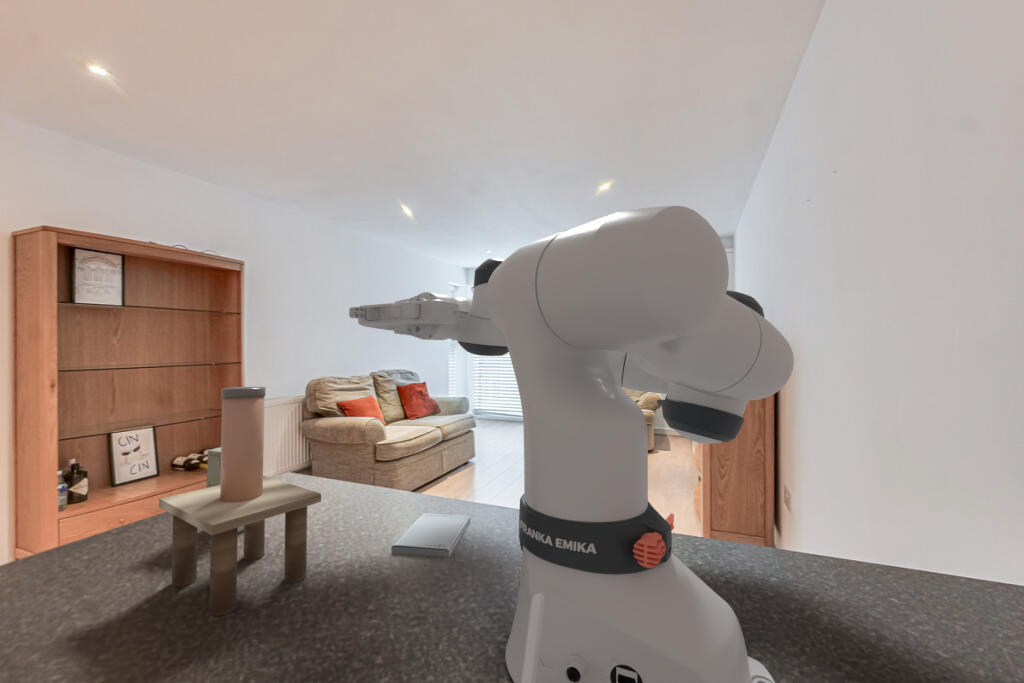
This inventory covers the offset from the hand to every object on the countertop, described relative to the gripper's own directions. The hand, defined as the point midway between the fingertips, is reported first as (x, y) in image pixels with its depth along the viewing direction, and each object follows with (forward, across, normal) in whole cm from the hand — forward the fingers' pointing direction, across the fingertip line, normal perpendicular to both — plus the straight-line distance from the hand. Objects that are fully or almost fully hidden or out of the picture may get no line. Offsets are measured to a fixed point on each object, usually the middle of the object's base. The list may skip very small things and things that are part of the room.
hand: (370, 311), depth 72 cm
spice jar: (+20, -2, -24) cm, 31 cm away
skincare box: (+13, +16, -34) cm, 40 cm away
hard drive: (-2, -12, -35) cm, 37 cm away
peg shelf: (+20, -2, -34) cm, 40 cm away
